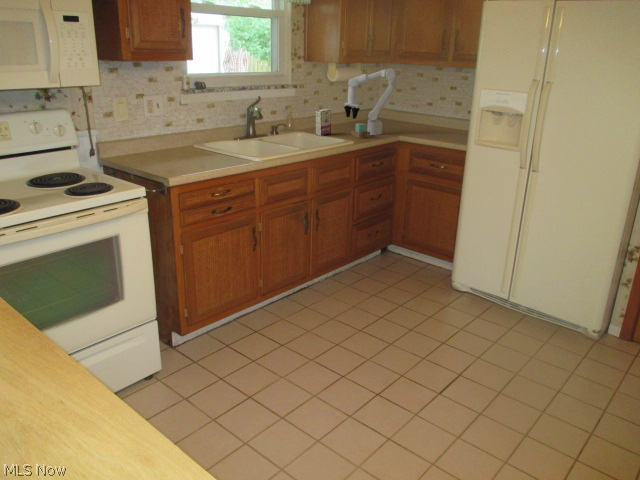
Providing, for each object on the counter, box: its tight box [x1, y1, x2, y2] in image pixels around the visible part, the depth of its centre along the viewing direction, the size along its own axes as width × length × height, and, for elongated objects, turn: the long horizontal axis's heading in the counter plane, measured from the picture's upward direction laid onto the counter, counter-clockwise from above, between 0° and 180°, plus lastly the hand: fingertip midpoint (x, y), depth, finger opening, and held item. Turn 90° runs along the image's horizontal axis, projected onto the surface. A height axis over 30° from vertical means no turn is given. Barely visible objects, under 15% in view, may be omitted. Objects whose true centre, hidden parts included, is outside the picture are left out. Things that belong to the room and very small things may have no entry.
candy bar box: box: [315, 108, 332, 136], centre depth 353 cm, size 11×5×16 cm, turn 143°
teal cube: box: [354, 122, 367, 132], centre depth 346 cm, size 5×5×5 cm
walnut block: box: [350, 130, 371, 139], centre depth 349 cm, size 9×9×4 cm
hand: (351, 117), depth 359 cm, fingers open, 7 cm apart
